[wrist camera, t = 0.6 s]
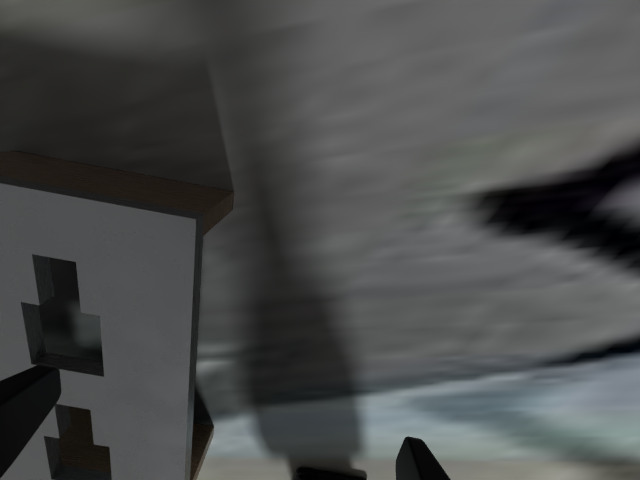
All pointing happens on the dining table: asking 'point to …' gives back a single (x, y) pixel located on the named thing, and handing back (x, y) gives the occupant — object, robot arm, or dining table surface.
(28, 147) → the dining table surface
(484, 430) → the dining table surface
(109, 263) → the keyhole board
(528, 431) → the dining table surface
